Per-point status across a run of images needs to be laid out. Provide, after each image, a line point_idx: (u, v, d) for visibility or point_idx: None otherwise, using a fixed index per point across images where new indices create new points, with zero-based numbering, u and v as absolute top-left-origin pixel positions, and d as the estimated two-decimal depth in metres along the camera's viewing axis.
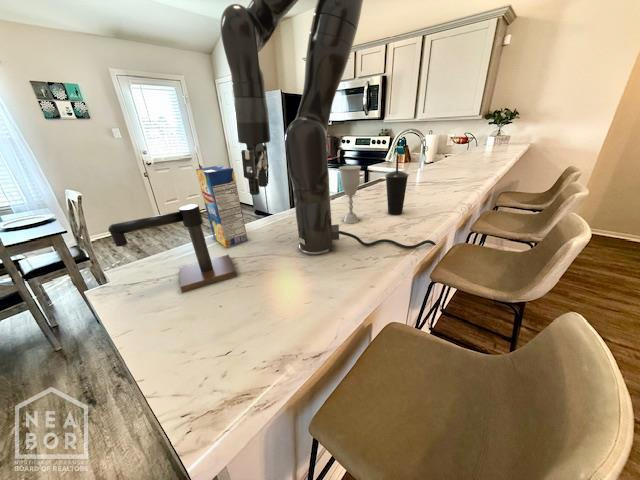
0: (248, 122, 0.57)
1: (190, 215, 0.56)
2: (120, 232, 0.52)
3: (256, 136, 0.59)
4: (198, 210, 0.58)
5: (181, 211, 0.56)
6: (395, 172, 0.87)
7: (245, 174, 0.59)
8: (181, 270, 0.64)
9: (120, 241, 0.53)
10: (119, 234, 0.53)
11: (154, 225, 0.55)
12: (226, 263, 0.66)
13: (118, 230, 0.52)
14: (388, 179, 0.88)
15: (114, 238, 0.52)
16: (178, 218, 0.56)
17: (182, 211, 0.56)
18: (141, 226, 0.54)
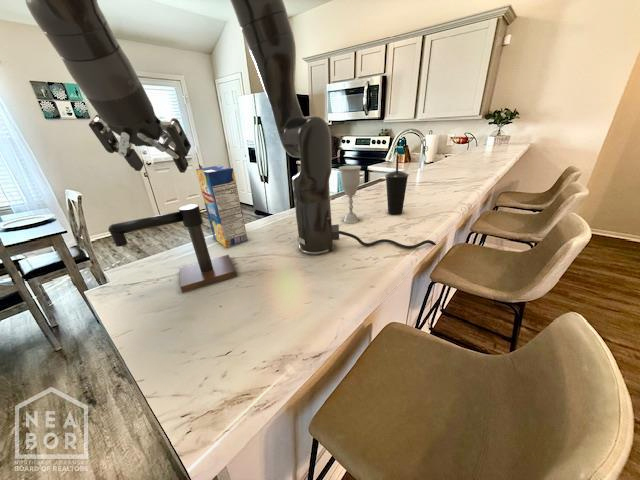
0: (138, 87, 0.39)
1: (190, 215, 0.56)
2: (120, 232, 0.52)
3: (149, 101, 0.42)
4: (198, 210, 0.58)
5: (181, 211, 0.56)
6: (395, 172, 0.87)
7: (187, 151, 0.47)
8: (181, 270, 0.64)
9: (120, 241, 0.53)
10: (119, 234, 0.53)
11: (154, 225, 0.55)
12: (226, 263, 0.66)
13: (118, 230, 0.52)
14: (388, 179, 0.88)
15: (114, 238, 0.52)
16: (178, 218, 0.56)
17: (182, 211, 0.56)
18: (141, 226, 0.54)
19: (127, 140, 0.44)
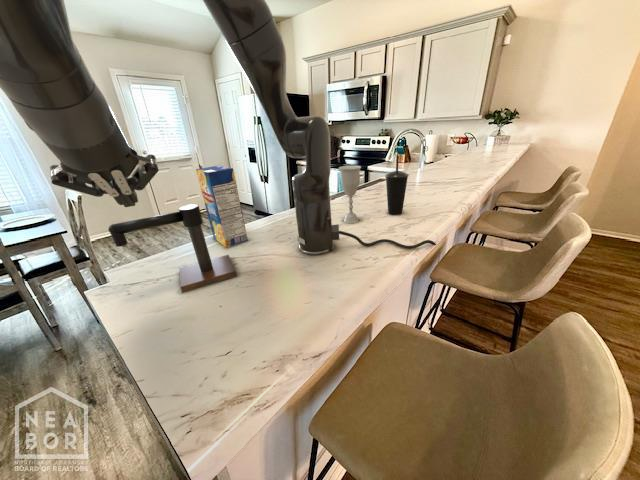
0: (115, 119, 0.31)
1: (190, 215, 0.56)
2: (120, 232, 0.52)
3: None
4: (198, 210, 0.58)
5: (181, 211, 0.56)
6: (395, 172, 0.87)
7: None
8: (181, 270, 0.64)
9: (120, 241, 0.53)
10: (119, 234, 0.53)
11: (154, 225, 0.55)
12: (226, 263, 0.66)
13: (118, 230, 0.52)
14: (388, 179, 0.88)
15: (114, 238, 0.52)
16: (178, 218, 0.56)
17: (182, 211, 0.56)
18: (141, 226, 0.54)
19: (101, 179, 0.36)
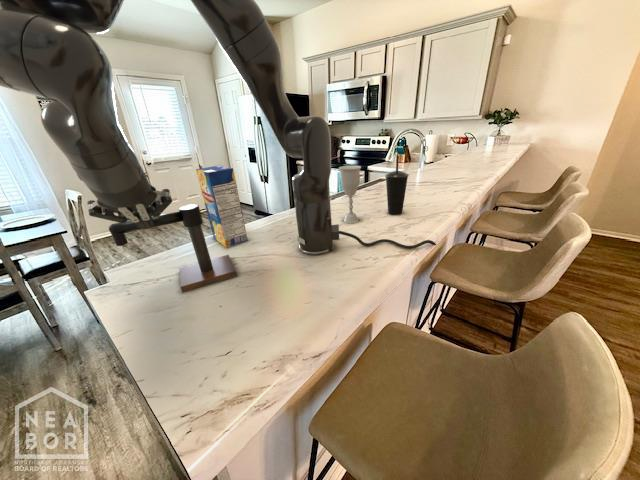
0: (141, 167, 0.40)
1: (190, 215, 0.56)
2: (120, 232, 0.53)
3: None
4: (198, 210, 0.58)
5: (181, 211, 0.56)
6: (395, 172, 0.87)
7: None
8: (181, 270, 0.64)
9: (120, 240, 0.53)
10: (119, 233, 0.53)
11: (154, 225, 0.55)
12: (226, 263, 0.66)
13: (118, 230, 0.52)
14: (388, 179, 0.88)
15: (114, 237, 0.53)
16: (178, 218, 0.56)
17: (182, 211, 0.56)
18: None
19: (127, 210, 0.45)
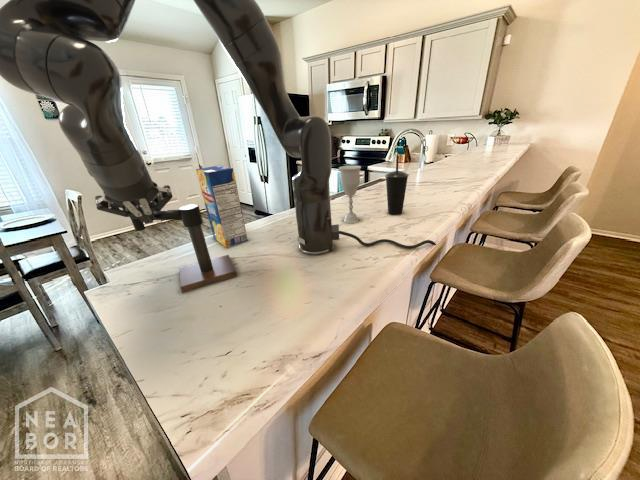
0: None
1: (184, 215, 0.56)
2: (136, 219, 0.60)
3: None
4: (194, 212, 0.57)
5: (179, 210, 0.57)
6: (395, 172, 0.87)
7: None
8: (181, 270, 0.64)
9: (136, 227, 0.60)
10: (136, 220, 0.60)
11: (159, 218, 0.59)
12: (226, 263, 0.66)
13: (134, 217, 0.59)
14: (388, 179, 0.88)
15: None
16: (177, 216, 0.57)
17: (179, 210, 0.56)
18: None
19: (131, 205, 0.49)
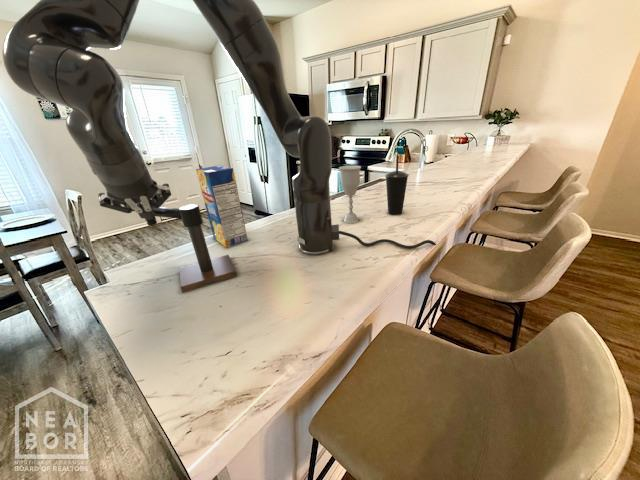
0: None
1: (182, 215, 0.56)
2: None
3: None
4: (192, 212, 0.56)
5: None
6: (395, 172, 0.87)
7: None
8: (181, 270, 0.64)
9: (148, 221, 0.63)
10: None
11: (165, 216, 0.60)
12: (226, 263, 0.66)
13: None
14: (388, 179, 0.88)
15: None
16: (178, 215, 0.58)
17: (179, 210, 0.57)
18: (157, 214, 0.61)
19: (132, 202, 0.52)
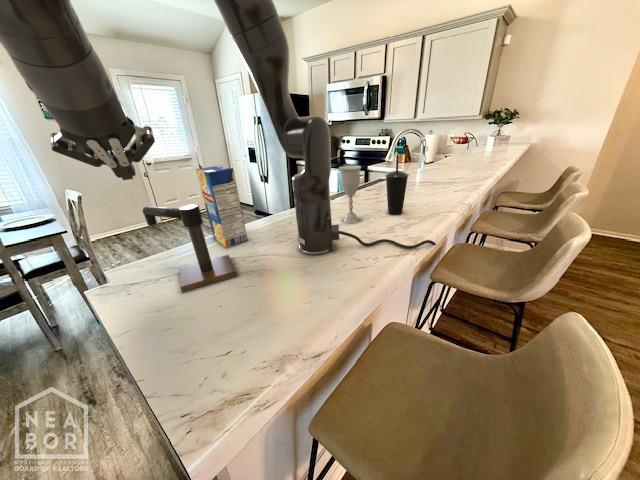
0: None
1: (182, 215, 0.56)
2: (147, 214, 0.62)
3: None
4: (192, 212, 0.56)
5: None
6: (395, 172, 0.87)
7: None
8: (181, 270, 0.64)
9: (148, 221, 0.63)
10: (148, 215, 0.63)
11: (165, 216, 0.60)
12: (226, 263, 0.66)
13: (145, 212, 0.62)
14: (388, 179, 0.88)
15: None
16: (178, 215, 0.58)
17: (179, 210, 0.57)
18: (157, 214, 0.61)
19: (99, 147, 0.37)
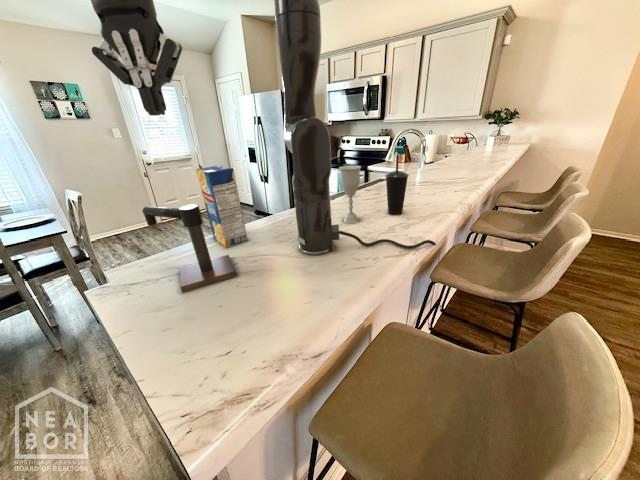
0: None
1: (182, 215, 0.56)
2: (147, 214, 0.62)
3: (153, 4, 0.38)
4: (192, 212, 0.56)
5: None
6: (395, 172, 0.87)
7: (164, 77, 0.40)
8: (181, 270, 0.64)
9: (148, 221, 0.63)
10: (148, 215, 0.63)
11: (165, 216, 0.60)
12: (226, 263, 0.66)
13: (145, 212, 0.62)
14: (388, 179, 0.88)
15: None
16: (178, 215, 0.58)
17: (179, 210, 0.57)
18: (157, 214, 0.61)
19: (123, 44, 0.37)
